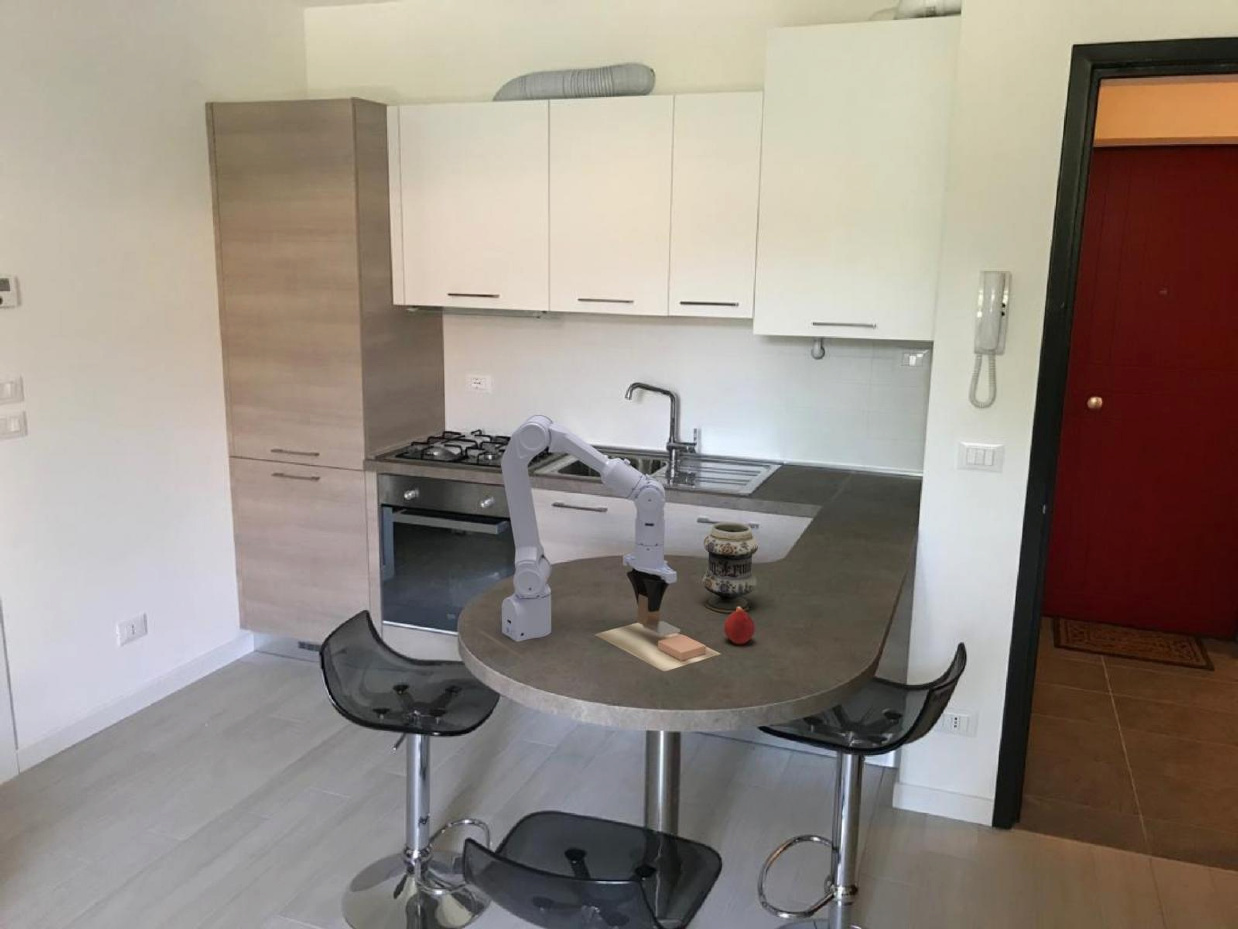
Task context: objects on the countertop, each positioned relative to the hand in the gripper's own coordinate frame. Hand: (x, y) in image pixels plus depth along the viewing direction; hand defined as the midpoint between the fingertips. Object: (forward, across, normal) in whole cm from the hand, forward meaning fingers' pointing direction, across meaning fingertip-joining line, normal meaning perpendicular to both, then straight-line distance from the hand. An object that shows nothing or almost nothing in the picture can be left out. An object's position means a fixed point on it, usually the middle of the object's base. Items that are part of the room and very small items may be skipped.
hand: (648, 608), depth 186 cm
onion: (+7, -13, -12) cm, 19 cm away
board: (+6, -4, +2) cm, 8 cm away
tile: (+5, -7, 0) cm, 8 cm away
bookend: (+3, -3, 0) cm, 4 cm away
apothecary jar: (+7, +5, -26) cm, 28 cm away
